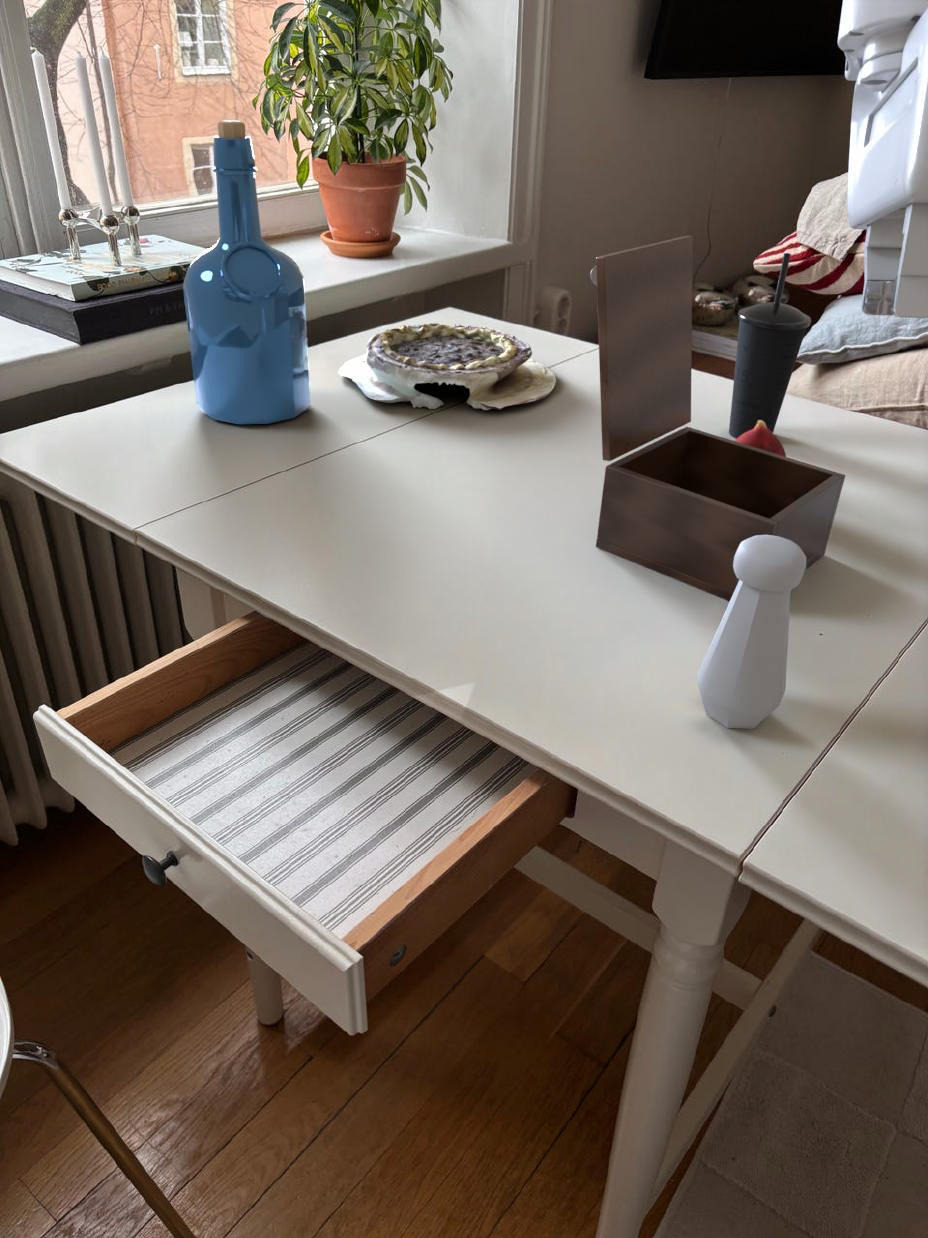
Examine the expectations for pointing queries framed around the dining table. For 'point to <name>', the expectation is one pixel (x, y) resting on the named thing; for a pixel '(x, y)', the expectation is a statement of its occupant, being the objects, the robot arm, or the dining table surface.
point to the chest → (711, 506)
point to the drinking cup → (765, 359)
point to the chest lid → (644, 342)
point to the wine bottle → (245, 305)
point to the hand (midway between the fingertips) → (893, 316)
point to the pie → (449, 366)
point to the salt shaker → (752, 635)
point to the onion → (762, 439)
